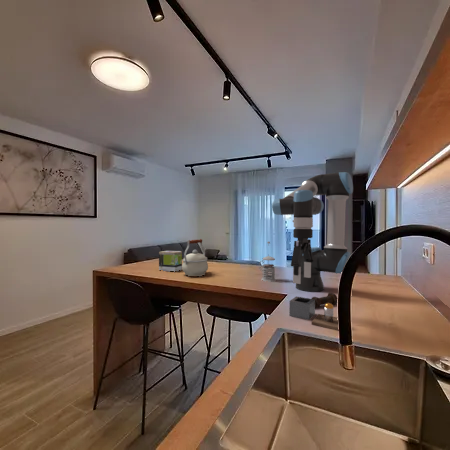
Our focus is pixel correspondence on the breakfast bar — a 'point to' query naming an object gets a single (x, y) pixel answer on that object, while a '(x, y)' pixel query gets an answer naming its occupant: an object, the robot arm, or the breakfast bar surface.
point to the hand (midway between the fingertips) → (302, 280)
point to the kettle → (195, 261)
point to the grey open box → (302, 308)
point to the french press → (268, 270)
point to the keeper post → (328, 312)
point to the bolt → (325, 300)
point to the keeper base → (321, 322)
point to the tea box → (170, 260)
